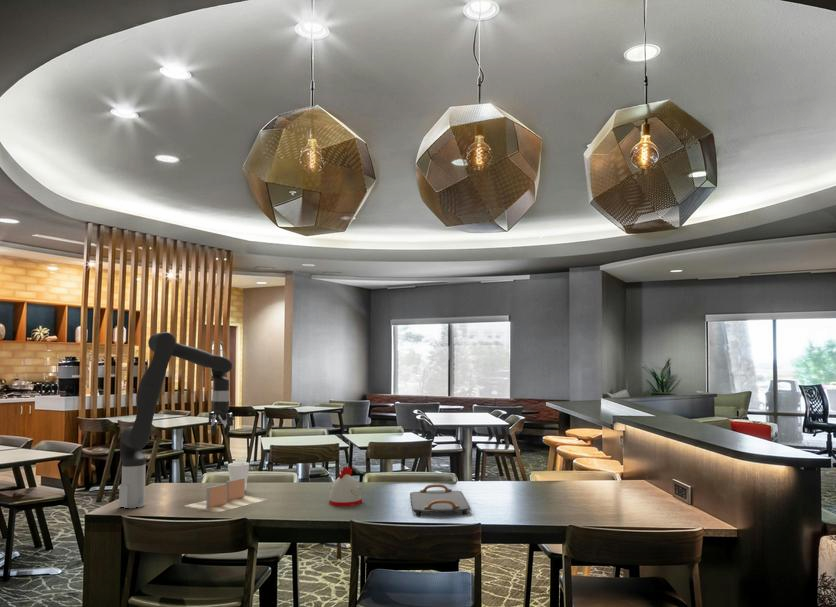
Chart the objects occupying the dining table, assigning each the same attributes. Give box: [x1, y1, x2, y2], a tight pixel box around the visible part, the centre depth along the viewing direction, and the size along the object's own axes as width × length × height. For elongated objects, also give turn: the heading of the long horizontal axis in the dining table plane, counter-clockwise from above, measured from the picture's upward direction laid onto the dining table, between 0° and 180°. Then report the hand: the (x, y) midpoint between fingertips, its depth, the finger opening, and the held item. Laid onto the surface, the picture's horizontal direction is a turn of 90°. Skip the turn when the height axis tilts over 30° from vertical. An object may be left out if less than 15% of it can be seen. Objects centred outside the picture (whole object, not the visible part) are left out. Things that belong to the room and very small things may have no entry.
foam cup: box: [227, 461, 250, 491], centre depth 297 cm, size 10×9×13 cm
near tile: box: [205, 483, 227, 508], centre depth 265 cm, size 9×2×8 cm, turn 146°
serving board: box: [409, 483, 472, 517], centre depth 264 cm, size 39×23×6 cm, turn 3°
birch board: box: [184, 494, 269, 513], centre depth 271 cm, size 27×22×1 cm
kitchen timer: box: [328, 466, 363, 507], centre depth 273 cm, size 14×14×15 cm
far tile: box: [225, 478, 246, 501], centre depth 278 cm, size 9×2×8 cm, turn 146°
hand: (220, 434), depth 303 cm, fingers open, 8 cm apart
